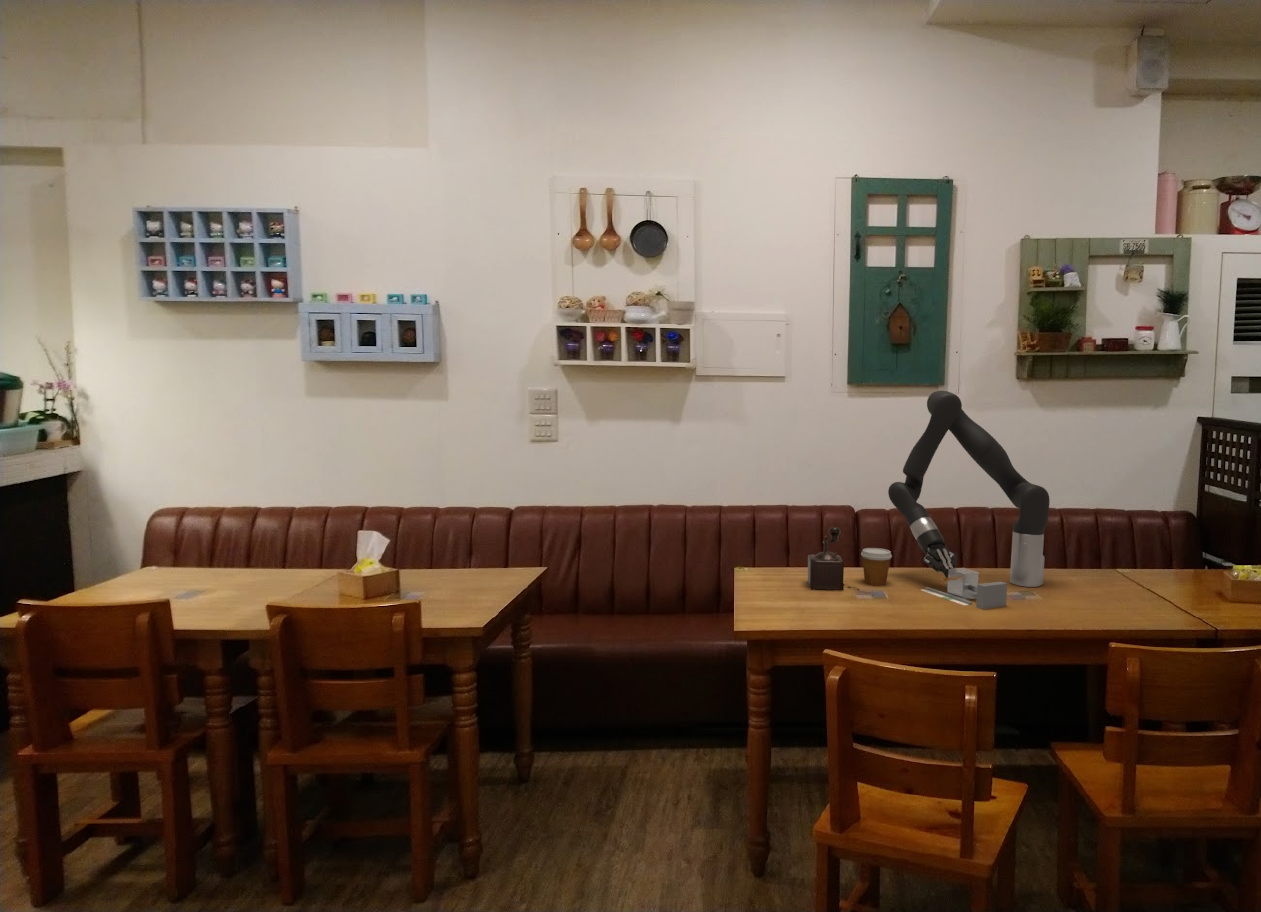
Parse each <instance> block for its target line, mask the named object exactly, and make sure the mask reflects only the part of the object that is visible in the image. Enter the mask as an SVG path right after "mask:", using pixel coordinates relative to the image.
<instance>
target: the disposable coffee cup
mask: <svg viewBox="0 0 1261 912" xmlns="http://www.w3.org/2000/svg"><path fill="white" fill-rule="evenodd" d="M891 552H892V551H890V550H889V549H886V548H881V547H879V548H878V547H866V548H863V549H862V551H861V553H860V554H861V555H860V556H861V558H862V567H863V576H864V577H863V579H864V583H865V584H867V585H869V586H886V585H887V580H888V574H889V569H890V563H891V562H890V561H891V559H892V558H893V555H892V553H891Z"/></svg>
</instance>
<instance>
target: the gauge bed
mask: <svg viewBox="0 0 1261 912" xmlns="http://www.w3.org/2000/svg"><path fill="white" fill-rule="evenodd" d="M944 586H945V588H946V589H947V588H948V584H944ZM924 588H925V589H921V591H922V592H925V593H928V594H930V595H933V596H936V597H939V598H941V599H945V600H947V601H951V602H953V603H957V604H958V605H962V606H969V605H970V606H971V605H972V604H973V602H972V601H970V600H969V599H968V600H965V599H962V598H959V597H956V596H953V595H950V594H947V592H944V591H940V590H938V589H935V588H932V587H929V586H925V587H924ZM1007 595H1008V582H1003V581H995V582H993V581H992V582H987V583H978V584H977V598H976V603H975V604H976V605H975V607H976V608H978V609H981V610H988V609H993V608H995V609H996V608H1001V607H1002V608H1003V607H1007V597H1008V596H1007Z"/></svg>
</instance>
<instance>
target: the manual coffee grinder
mask: <svg viewBox="0 0 1261 912" xmlns="http://www.w3.org/2000/svg"><path fill="white" fill-rule="evenodd" d="M841 533H842V532H841V529H840V528H839V527H835V526H833V527H830V528H829V529H828V534H829V535H830V540H829V539H828V538H829V537H828V535H824V536H823V541H822V544H824V545H823V547H824V548H823V549H824V550H823V551H821V552H818V553H817V554H808V555H807V585H808V587H809V588H811V589H815V590H814V591H833V590H843V591H844V574H845V573H844V569H845V566H844V565H845V563H844V561H843V559H842V557H841V555H839V554H837V551H836V552H832V551H828V544H831V543H834V544H835V543H837V542H838V541H839V536H840V534H841ZM811 589H810V590H811Z"/></svg>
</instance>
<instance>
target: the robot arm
mask: <svg viewBox="0 0 1261 912" xmlns="http://www.w3.org/2000/svg"><path fill="white" fill-rule="evenodd" d="M926 407H927V410H928V413H929V414H930V419H929V422H928V424H927V426H926V428H925V430H924V432H923V433H922V435H921V437H920V438H919V439H918V440H917V441H916V442H915V444H914V446H913V448H912V449H911V450H910V453H909V455H908V456H907V459H906V461H905V463H904V466H903V469H902V473H903V474H904V475H905V481H904V482H902V481H895V482H893V483H891V484H890V486H889V487H888V489H887V490H888V492H887V493H888V498H889V500H890V502H891V503H892V504H893V506H894V507H895V508H896V509H897V511H898V512H899V513H900V514H901V515H902V517H904V519H905V521H906V523H907V525H908V526H909V528H910V530H911V533H912V536H914V538H915V540H916V542H917V544H918V546H919V549H920V550H921V551H922V552H923V553H924V554H925V556H924V558H923V559H922V562H923V563H924V564H926V565H927V566H928V567H930V568H931V569H933V571H935V572H937V573H939V572H940V573H942V574H943V575H944V578H948V569H956V567H957V566H958V565H957V564H958V555H959V554H958V553H957V552H954V553H953V552H951V551H950V550H949V548H948V547H947V546H946V542H945V538H944V537H943V535H942V533H941V532H940V530H939V528H938V526H937V525H936V523H935V521H933V519H932V518H931V517H930V514H929V513H928V511H927V510H926V508H925V507H924V505H922V504H920V503H918V502H917V501H918V500H919V498H920V496H921V494H922V493H921V492H922V489H923V484H924V478H925V476H926V473H927V471H928V469H929V466H930V464H931V462H932V460H933V459H934V456H935V454H936V452H937V450H938V448H939V446H940V444H941V443H942V441H943V439H944V438H945V435H947V433H948V431H949V432H951V434H952V435H953V436H954V438H955V439H956V441H958V444H959V445H960V446H961V447H962V448H963V449H964V451H966V453H967V455H969V456H970V457H971V459H972V460H973V461H974V462H975V464H977V465H978V467H980V468H981V469H982V470H983V471H984V472H985V473H986V474H987V475H988V476H989V477H990V478H991V479H992V480H994V482H996V484H997V485H998V486H999V487H1000V488H1001V490H1002V491H1003V493H1005V495H1006V497H1007V498H1008V499H1009V501H1010V502H1011V503H1012V505H1013V506H1014V507H1015V508H1017V509H1018V510H1019V516H1018V520H1017V521H1015V522H1013V524H1012V525H1013V526H1012V538H1011V539H1012V540H1011V541H1012V542H1011V556H1010V558H1011V559H1010V573H1009V583H1010V584H1011V585H1015V586H1020V587H1027V588H1028V587H1029V588H1037V587H1040V586H1041V585H1044V573H1045V555H1044V553H1043V552H1044V540H1045V529H1046V527H1047V524H1048V520H1049V511H1050V494H1049V492H1048V491H1047V489H1046V488H1044V487H1043V486H1041V485H1037V484H1034V483H1031V482H1029V481H1028V480H1027V479H1026V478H1024V476H1023V475H1021V474H1020V472H1018V470H1016V469H1015V467H1014V466H1013V463H1012V461H1011V459H1010V457H1009V454H1008V453H1007V452H1006V450H1005V449H1004V447H1003V446H1002V445H1001V443H999V442H998V441H997V440H996V438H994V437H993V436H992V435H991V433H989V432H988V431H987V430H986V429H984V428H983V427H982V426H981V425H979V423H976V421H974V420H973V419H972V418H971V417H970V416H969V415H967V413H966V412H965V411H964V410H963V408H962V407H963V403H962V401H961V398H960V397H959V396H958V395H957V394H955V393H953V392H950V391H948V390H936V391H934V392H932V393H931V394H930V395H928V398H927V401H926Z"/></svg>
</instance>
